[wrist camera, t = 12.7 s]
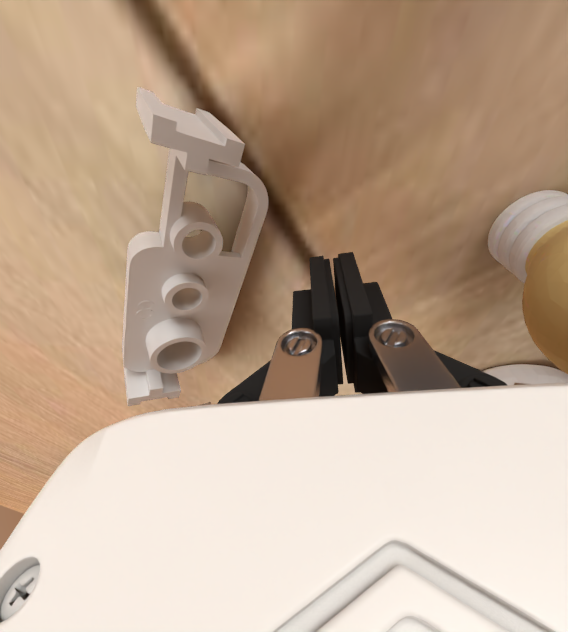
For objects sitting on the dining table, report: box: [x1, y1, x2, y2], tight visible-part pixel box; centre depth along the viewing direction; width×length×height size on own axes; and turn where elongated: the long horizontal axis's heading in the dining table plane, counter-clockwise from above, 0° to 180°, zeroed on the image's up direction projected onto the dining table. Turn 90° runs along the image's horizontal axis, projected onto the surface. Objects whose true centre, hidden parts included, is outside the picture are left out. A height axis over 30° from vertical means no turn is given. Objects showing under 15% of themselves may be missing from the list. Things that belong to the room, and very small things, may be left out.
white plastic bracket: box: [122, 86, 268, 406], centre depth 15 cm, size 6×15×6 cm, turn 157°
